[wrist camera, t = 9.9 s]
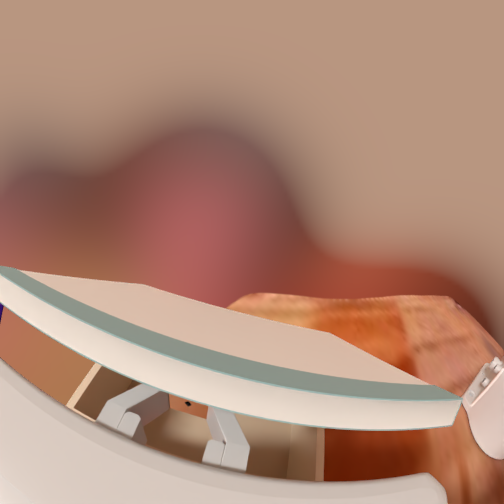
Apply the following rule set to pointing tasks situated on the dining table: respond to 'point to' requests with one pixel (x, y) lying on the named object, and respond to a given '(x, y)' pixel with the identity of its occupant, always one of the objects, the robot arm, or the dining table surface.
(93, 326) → the lid
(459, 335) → the dining table surface
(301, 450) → the box
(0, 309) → the bracket
